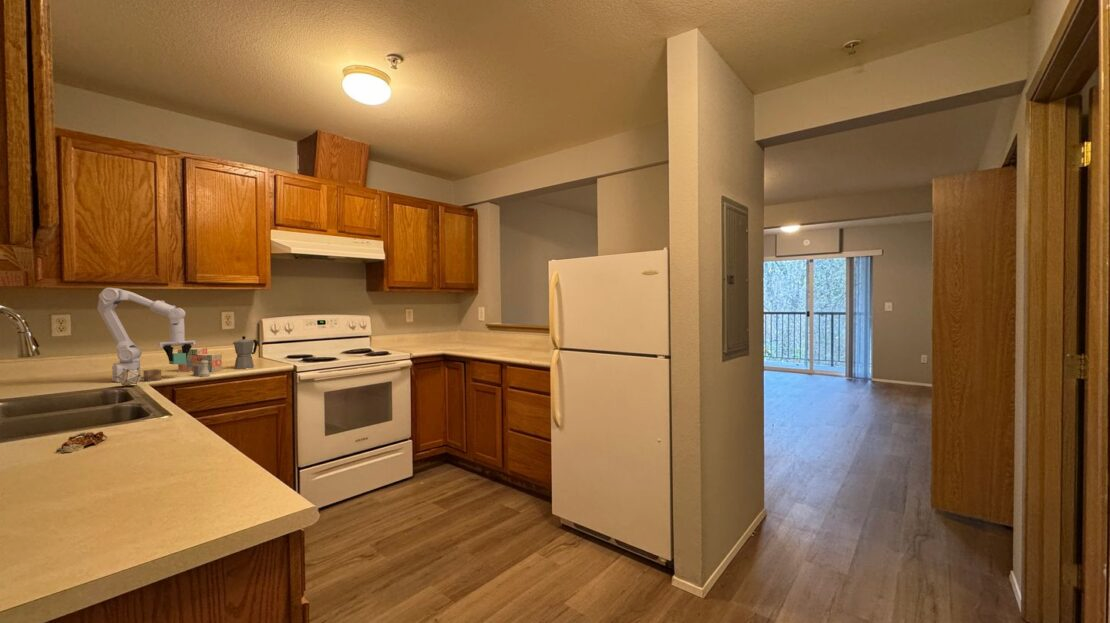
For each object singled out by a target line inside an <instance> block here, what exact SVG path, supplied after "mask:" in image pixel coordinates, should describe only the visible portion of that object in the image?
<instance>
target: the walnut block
mask: <svg viewBox="0 0 1110 623" xmlns="http://www.w3.org/2000/svg"><path fill="white" fill-rule="evenodd" d="M142 372H143V373H142V374H143V377H144V379H143V382H148V383H150V382H157V381H162V369H158V368H156V369H155V368H154V369H145V370H142Z"/></svg>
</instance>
